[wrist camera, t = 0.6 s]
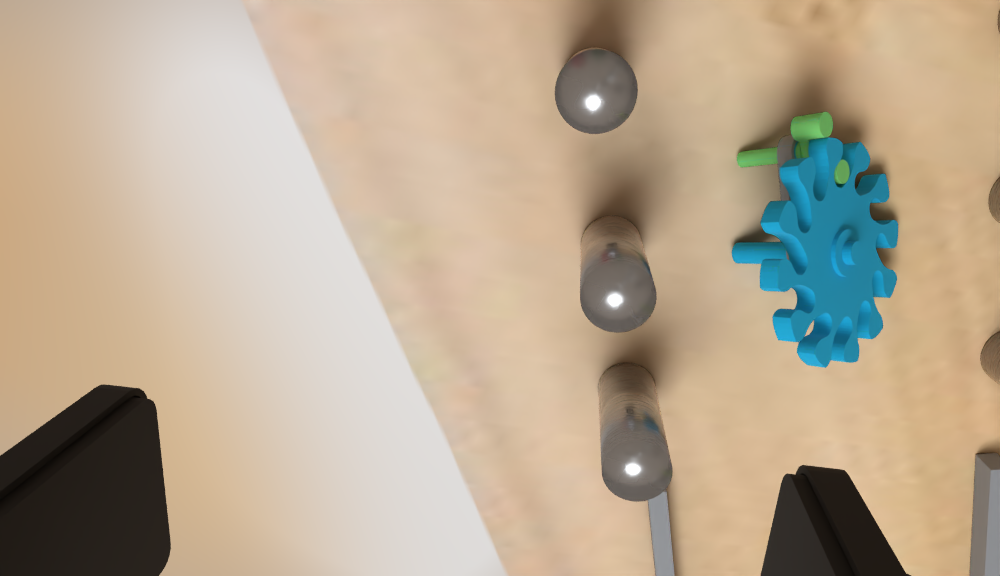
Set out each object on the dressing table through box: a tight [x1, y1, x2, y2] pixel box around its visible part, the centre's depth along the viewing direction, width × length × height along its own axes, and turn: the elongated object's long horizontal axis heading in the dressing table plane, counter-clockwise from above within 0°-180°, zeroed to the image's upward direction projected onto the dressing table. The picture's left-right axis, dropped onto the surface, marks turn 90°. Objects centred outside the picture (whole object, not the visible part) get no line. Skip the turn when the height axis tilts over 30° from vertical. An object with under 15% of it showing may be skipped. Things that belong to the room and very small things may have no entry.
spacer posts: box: [555, 11, 1000, 501], centre depth 32 cm, size 22×19×8 cm
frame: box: [648, 453, 1000, 576], centre depth 41 cm, size 18×13×2 cm
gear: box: [732, 112, 898, 368], centre depth 34 cm, size 11×6×10 cm
